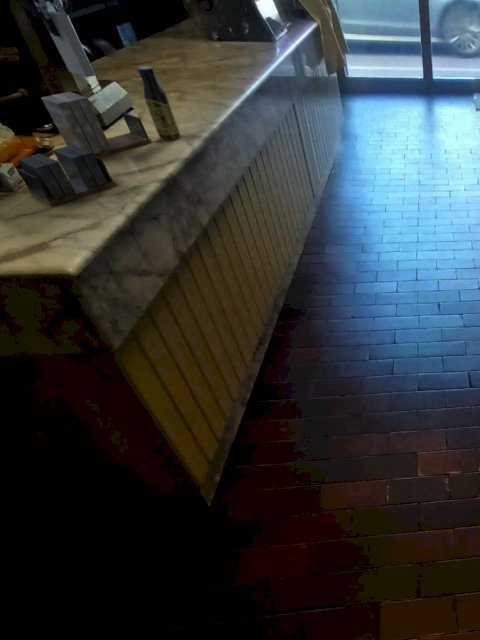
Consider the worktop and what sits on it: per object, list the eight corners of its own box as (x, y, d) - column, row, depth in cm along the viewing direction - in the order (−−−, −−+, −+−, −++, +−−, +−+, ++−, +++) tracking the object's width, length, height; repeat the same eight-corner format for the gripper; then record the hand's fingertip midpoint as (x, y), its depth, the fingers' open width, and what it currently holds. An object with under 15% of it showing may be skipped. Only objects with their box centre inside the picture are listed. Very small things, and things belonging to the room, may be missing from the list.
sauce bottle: (155, 139, 163) (125, 68, 149) (170, 133, 168) (142, 63, 154) (172, 142, 162) (143, 70, 148) (187, 136, 166) (160, 66, 153)
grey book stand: (85, 161, 149) (55, 104, 138) (67, 153, 152) (36, 97, 142) (151, 142, 161) (128, 89, 151) (133, 135, 165) (109, 83, 155)
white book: (86, 77, 139) (56, 14, 129) (69, 71, 142) (38, 10, 133) (95, 75, 141) (66, 13, 131) (78, 70, 144) (48, 9, 134)
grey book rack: (52, 206, 128) (30, 170, 122) (31, 196, 132) (9, 160, 126) (116, 185, 138) (99, 151, 132) (95, 176, 142) (78, 142, 136)
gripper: (45, -53, 129) (83, 29, 141) (-20, -50, 120) (27, 37, 132) (60, -51, 126) (98, 33, 138) (-5, -48, 118) (41, 41, 130)
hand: (63, 34), depth 135 cm, fingers closed on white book, 2 cm apart
